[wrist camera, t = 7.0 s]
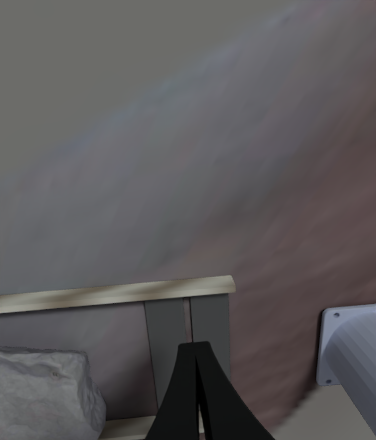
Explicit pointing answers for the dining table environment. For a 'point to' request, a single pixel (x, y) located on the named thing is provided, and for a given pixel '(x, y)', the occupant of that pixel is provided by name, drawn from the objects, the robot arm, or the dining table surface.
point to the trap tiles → (175, 332)
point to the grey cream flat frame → (133, 427)
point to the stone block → (48, 396)
